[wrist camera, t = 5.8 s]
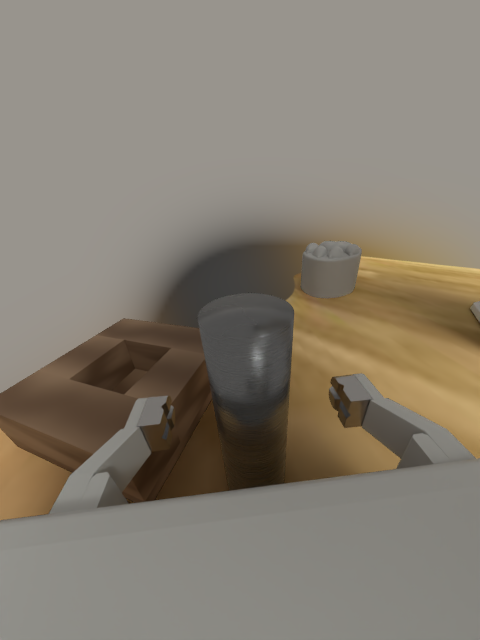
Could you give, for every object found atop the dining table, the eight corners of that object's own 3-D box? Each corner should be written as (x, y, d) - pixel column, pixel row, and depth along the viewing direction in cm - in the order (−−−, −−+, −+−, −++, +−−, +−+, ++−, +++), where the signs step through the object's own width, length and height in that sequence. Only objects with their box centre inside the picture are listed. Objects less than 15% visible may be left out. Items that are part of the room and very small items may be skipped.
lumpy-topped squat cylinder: (357, 280, 48) (366, 238, 44) (348, 302, 39) (357, 252, 35) (310, 275, 53) (314, 237, 49) (291, 294, 44) (294, 249, 40)
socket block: (135, 350, 30) (123, 318, 28) (229, 367, 25) (225, 331, 23) (17, 446, 19) (-21, 406, 16) (149, 509, 14) (124, 466, 12)
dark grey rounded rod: (238, 440, 18) (220, 290, 11) (288, 455, 16) (299, 296, 10) (217, 496, 14) (178, 329, 8) (278, 521, 13) (285, 344, 7)
